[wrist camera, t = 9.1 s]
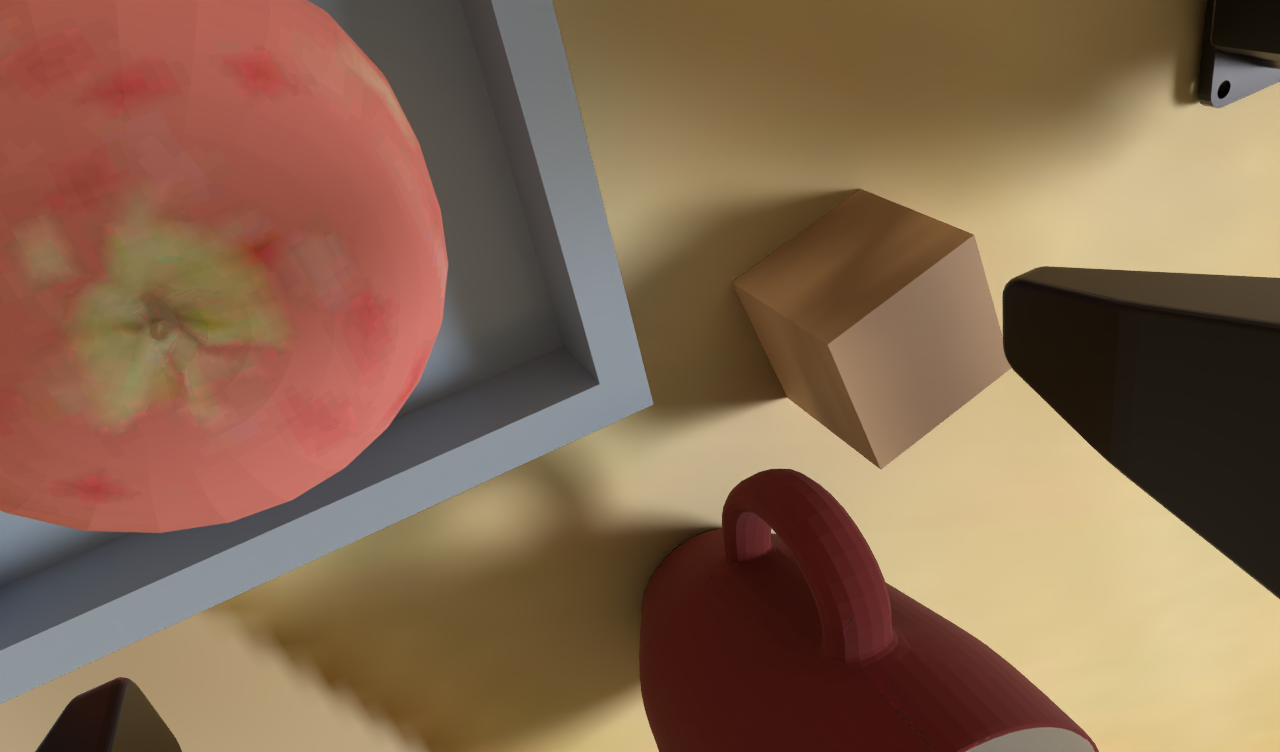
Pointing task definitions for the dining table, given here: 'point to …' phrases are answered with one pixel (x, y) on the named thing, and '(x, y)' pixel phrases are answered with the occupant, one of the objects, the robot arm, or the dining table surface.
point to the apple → (201, 259)
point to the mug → (819, 645)
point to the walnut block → (876, 322)
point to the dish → (455, 371)
